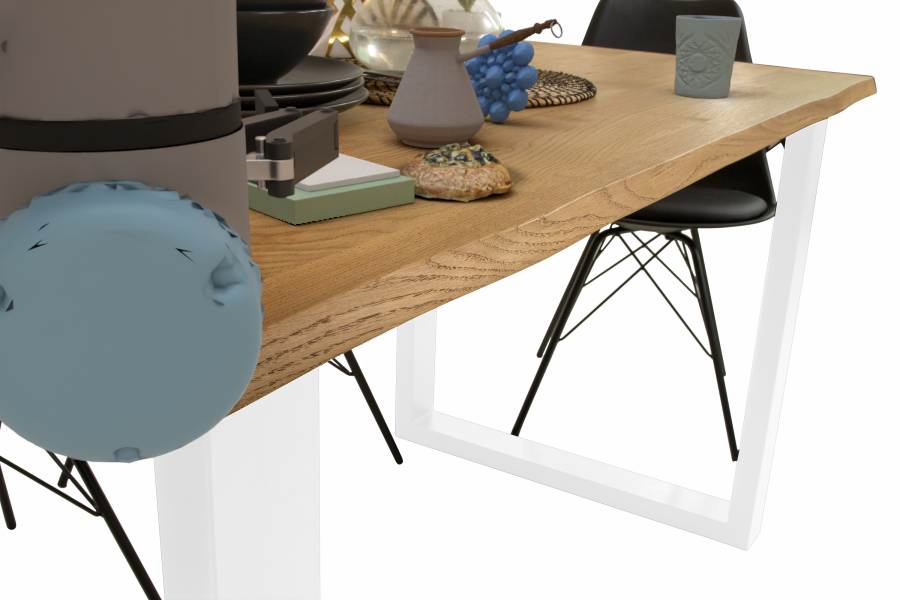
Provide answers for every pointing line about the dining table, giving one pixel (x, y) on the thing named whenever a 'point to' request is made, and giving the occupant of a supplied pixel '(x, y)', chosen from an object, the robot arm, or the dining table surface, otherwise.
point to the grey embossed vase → (705, 55)
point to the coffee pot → (443, 88)
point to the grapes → (502, 77)
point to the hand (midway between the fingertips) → (142, 115)
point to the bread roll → (458, 173)
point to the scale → (337, 192)
